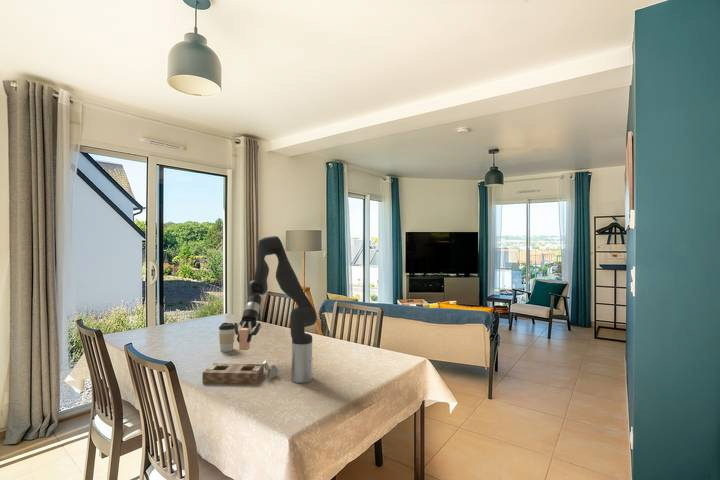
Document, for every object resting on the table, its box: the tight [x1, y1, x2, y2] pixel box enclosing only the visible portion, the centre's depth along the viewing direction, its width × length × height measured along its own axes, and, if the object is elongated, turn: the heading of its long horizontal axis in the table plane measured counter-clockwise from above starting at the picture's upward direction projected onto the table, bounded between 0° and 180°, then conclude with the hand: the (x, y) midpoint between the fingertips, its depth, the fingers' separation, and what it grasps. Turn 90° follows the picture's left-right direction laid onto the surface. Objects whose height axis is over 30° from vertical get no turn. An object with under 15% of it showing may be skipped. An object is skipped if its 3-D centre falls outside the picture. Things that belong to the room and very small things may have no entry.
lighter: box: [262, 360, 279, 379], centre depth 171 cm, size 7×2×8 cm, turn 133°
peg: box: [238, 327, 251, 351], centre depth 183 cm, size 4×4×10 cm
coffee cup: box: [218, 322, 236, 353], centre depth 211 cm, size 9×9×15 cm
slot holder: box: [201, 362, 265, 385], centre depth 169 cm, size 24×12×5 cm, turn 90°
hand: (243, 341), depth 181 cm, fingers closed on peg, 4 cm apart
